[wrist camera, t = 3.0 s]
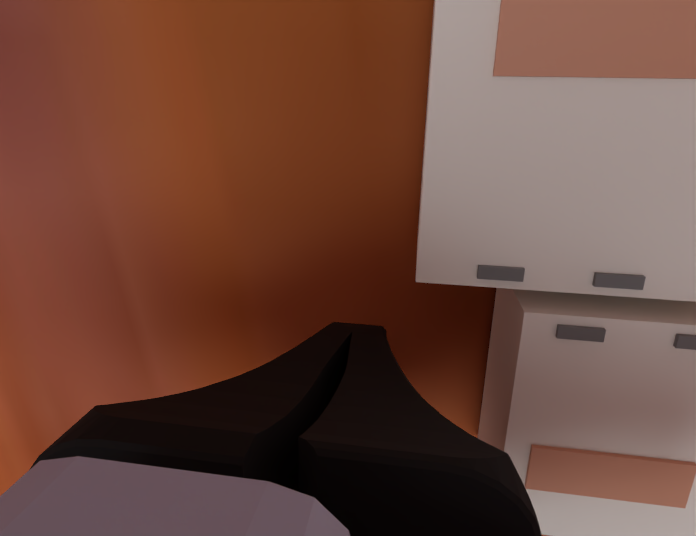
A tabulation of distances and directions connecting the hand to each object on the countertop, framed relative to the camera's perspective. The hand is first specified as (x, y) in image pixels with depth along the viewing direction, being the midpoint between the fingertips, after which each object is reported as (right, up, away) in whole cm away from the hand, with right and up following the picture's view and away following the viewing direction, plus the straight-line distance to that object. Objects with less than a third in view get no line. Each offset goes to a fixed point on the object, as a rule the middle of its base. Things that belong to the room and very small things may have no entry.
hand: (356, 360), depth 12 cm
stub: (+5, 0, 0) cm, 5 cm away
